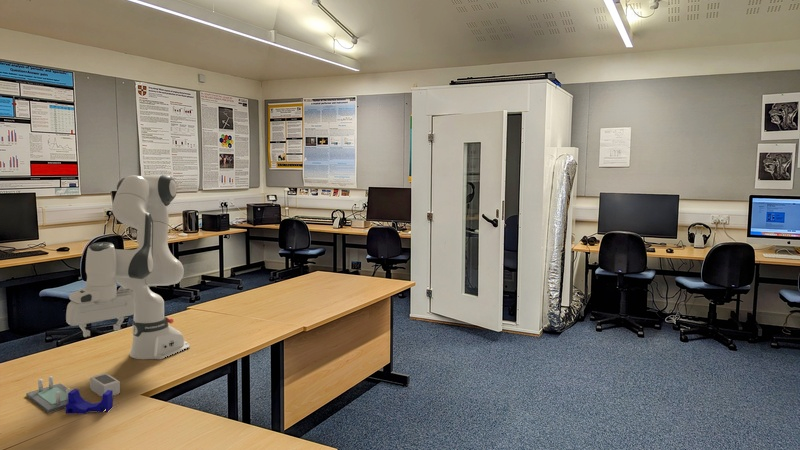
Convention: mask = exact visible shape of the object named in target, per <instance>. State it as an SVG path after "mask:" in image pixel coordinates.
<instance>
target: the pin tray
mask: <svg viewBox="0 0 800 450" xmlns="http://www.w3.org/2000/svg"><path fill="white" fill-rule="evenodd" d="M37 383H38V386H37V387H38V389H36V390H33V391H29V392H27V393H25V394H26V397H27V398H28V399H29V400H31V402H34V403H35V404H36V405H37V406H38V407H40V408H41V410H43V411H45V412H46V413H48V414H50V413H52V412H53V413H54V412H57V411H59V410H63V409H66V404H67V403H68V393H69V392H70V391H72V390H71V388H70V387H66V386H65V385H64V384H62V383H56V384H54V376H52V375H51V376H48V386H45V387H44V379H42V378H40V379H38V380H37Z"/></svg>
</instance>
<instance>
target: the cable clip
mask: <svg viewBox="0 0 800 450" xmlns="http://www.w3.org/2000/svg"><path fill="white" fill-rule="evenodd" d="M113 397H114V396H113V392H112V390H107V391H106V392H105V393H104V394H103V397H101V400H100V401H98V402H90V401H87V400H85V399H84V398H83V397H82V396H81V393H80V390H79V388H73V389H72V390H71V391H70V392H69V393H68V403H67V404H66V408H65V414H74V413H77V415H78V413H83V414H82V415H87V413H89V412H88V411H97V412H96V413H109V412H110V411H111V410H112V409H113V408H112V407H114V403H113V402H114V401H113V399H114V398H113ZM111 408H112V409H111ZM105 409H106V411H105V412H103V411H104V410H105ZM110 409H111V410H110ZM109 410H110V411H109ZM98 411H99V412H98ZM108 411H109V412H108ZM74 415H75V414H74Z"/></svg>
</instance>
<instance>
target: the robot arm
mask: <svg viewBox="0 0 800 450" xmlns="http://www.w3.org/2000/svg"><path fill="white" fill-rule="evenodd" d="M177 188H178V187H177V183H176V181H175V179H174V178H173V177H172V176H171V175H165V174H161V175H159V174H157V175H156V174H155V175H154V174H147V175H135V174H133V175H128V176H125V177H123V178H121V179H120V180H119V181H118V182H117V185H116V193H115V196H114V199H113V202H112V206H111V211H112V212H111V213H112V214H113V216H114V218H115V219H116V220H117V221H118V222H119V223H121V224H122V225H125V226H127V227H130V228H133V229H135V230H137V232H136V233H137V234H136V242H137V244H138V247H136V248H135V249H117V248H115V245H114V244H113V243H112V242H108V241H107V242H106V241H101V242H100V241H99V242H94V243H92V244H90V245H89V246H88V247H87V250H86V256H85V273H86V282H85V286H84V287H82V288H81V289H78V290H76V291H73V292H71V293H70V294H69V295H68V297H69V300H70V302H68V304H67V306H66V313H65V320H66V321H65V322H66V323H67V324H68V325H69V326H71V327H75V326H78V327H79V328H80V329H81V331H82V336H83V337H84V338H87V337H91V330H89V329H86V328H87V324H91V323H92V324H93V323H97V322H102V321H107V320H113V319H117V321H116V323H115V324H113V331H120V330H121V325H122V324H123V322H124V321H125V317H129V316H133V319H132V329H131V330H132V336H133V337H132V343H131V347H130V351H129V356H130V358H133V359H136V360H163V359H165V357H166V358H168V357H170V355H171V356H173V355H175V353H176V354H178V353H181V352H183V351H185V350H184V349H186V350H188V349H190V348H191V347H190V343H189V342H187V341H186V340H184V336H183V333H182V332H181V331H179V330H178V329H176V328H174V327H173V326H172V325H171V324H173V323H174V319H173V318H172V317H167V316H165V300H164V299H163V297H162V296H161V295H160V294H158V293H155V292H154V291H152V290H151V289H150V287H149V286H161V287H163V286H171V285H176V284H179V282H181V280H182V279H183V278H184V273H185V269H184V265H183V263H182V262H181V261H180V260H179V259H177V258H176V257H175V256H174V255H173V254H172V252H171V250H170V248H169V243H168V233H169V223H170V222H169V216H170V215H169V208H168V206H169V205H170V204H171V202H173V200H174V199H175V198H176V196H177V191H178V189H177ZM118 285H120V286H121V287H122V289H118ZM189 347H190V348H189ZM187 348H188V349H187ZM182 350H183V351H182ZM180 351H181V352H180ZM177 352H178V353H177ZM172 354H173V355H172ZM167 356H168V357H167Z"/></svg>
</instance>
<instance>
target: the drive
mask: <svg viewBox="0 0 800 450" xmlns="http://www.w3.org/2000/svg"><path fill="white" fill-rule="evenodd" d="M89 383H90V385H89V386H90V387H89V389H90V390H91V391H92V392H94V393H95V394H96V395H98V394H99V396H100V397H101V396H102V397H103V394H104V393H105V392H106V391H107V390H112V392H113V395H114V396H117V395H119V393H120V394H121V381H119V380H118V379H116V378H115V377H113V376H112V375H110V374H108V373H107V372H104V373H100V374H97V375H94V376H90V377H89ZM116 394H117V395H116ZM102 397H101V398H102Z"/></svg>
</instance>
